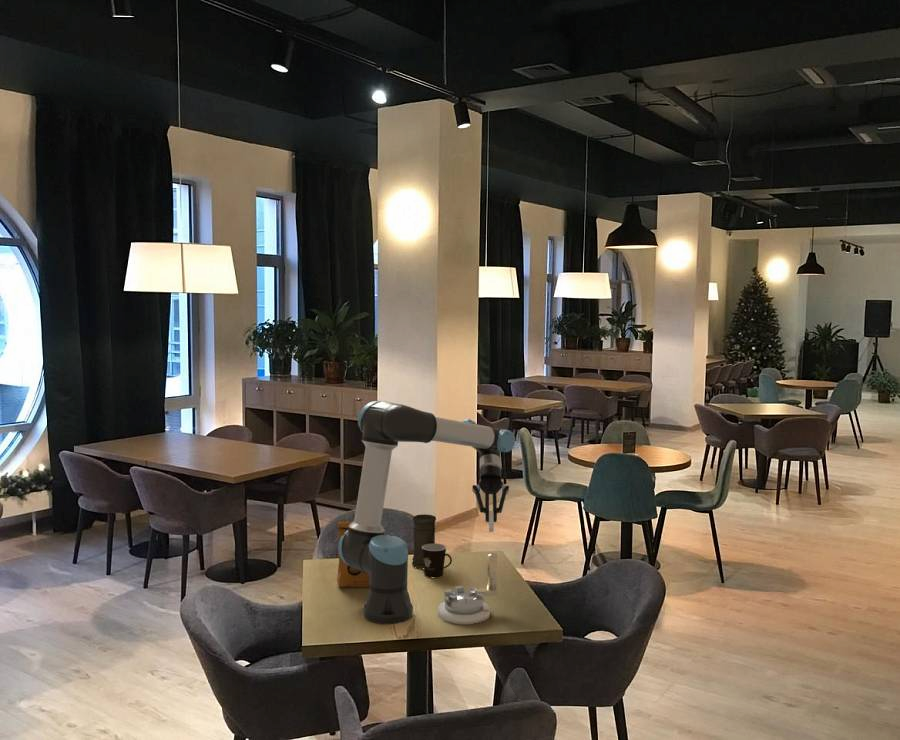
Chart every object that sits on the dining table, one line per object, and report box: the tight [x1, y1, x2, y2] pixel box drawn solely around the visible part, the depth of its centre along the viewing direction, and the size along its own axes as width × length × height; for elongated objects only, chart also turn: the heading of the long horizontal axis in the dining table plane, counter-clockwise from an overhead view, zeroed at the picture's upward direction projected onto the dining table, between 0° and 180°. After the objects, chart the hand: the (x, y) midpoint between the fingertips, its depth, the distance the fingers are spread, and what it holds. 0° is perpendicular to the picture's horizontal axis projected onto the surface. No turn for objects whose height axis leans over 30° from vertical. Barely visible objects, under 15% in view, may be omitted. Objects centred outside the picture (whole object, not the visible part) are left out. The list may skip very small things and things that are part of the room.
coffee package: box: [336, 521, 370, 588], centre depth 278 cm, size 10×12×22 cm
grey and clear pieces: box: [444, 552, 499, 615], centre depth 253 cm, size 16×12×16 cm
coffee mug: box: [422, 543, 453, 578], centre depth 288 cm, size 12×9×10 cm
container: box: [411, 514, 437, 569], centre depth 299 cm, size 9×9×18 cm
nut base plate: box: [437, 601, 491, 625], centre depth 254 cm, size 16×16×2 cm
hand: (491, 530), depth 273 cm, fingers closed
